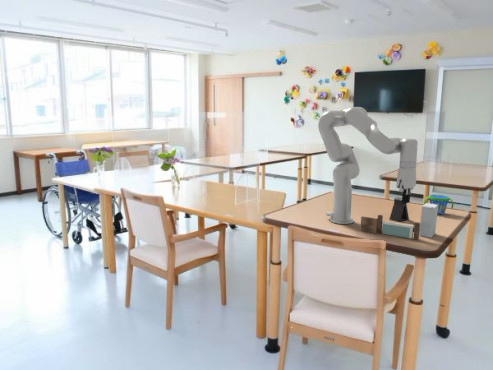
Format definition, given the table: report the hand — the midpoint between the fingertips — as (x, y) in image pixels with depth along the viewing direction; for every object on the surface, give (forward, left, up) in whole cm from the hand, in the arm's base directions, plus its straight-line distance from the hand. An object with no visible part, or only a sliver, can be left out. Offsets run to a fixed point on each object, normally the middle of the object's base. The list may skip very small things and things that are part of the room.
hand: (405, 202), depth 202 cm
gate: (-1, -7, -15) cm, 17 cm away
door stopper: (-8, +24, -16) cm, 30 cm away
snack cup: (+7, +50, -16) cm, 53 cm away
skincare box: (+10, +4, -16) cm, 19 cm away
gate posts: (-5, -6, -16) cm, 18 cm away
